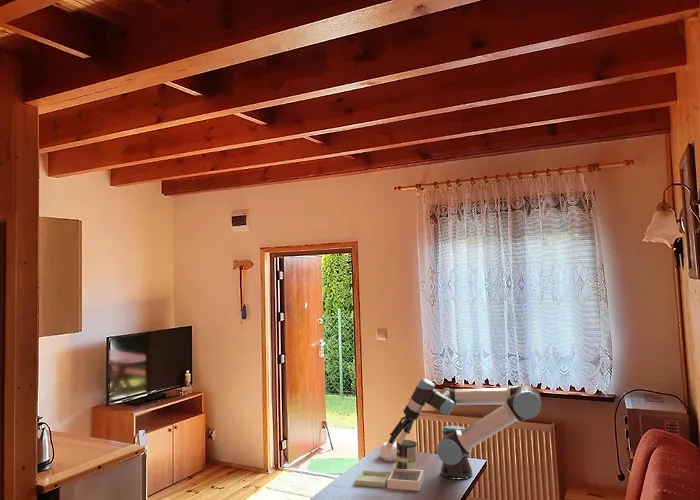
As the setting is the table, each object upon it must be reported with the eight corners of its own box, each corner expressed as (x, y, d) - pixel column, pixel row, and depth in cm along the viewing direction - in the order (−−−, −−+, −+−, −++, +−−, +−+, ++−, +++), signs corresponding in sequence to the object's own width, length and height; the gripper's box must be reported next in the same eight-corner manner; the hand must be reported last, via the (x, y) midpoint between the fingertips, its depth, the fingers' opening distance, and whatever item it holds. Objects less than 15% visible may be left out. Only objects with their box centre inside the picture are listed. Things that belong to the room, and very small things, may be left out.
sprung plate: (420, 475, 256) (420, 473, 256) (416, 485, 244) (416, 483, 244) (395, 473, 259) (395, 471, 259) (390, 483, 247) (390, 481, 247)
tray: (390, 476, 261) (390, 471, 261) (384, 487, 247) (384, 482, 247) (362, 475, 264) (362, 469, 264) (355, 485, 251) (355, 480, 251)
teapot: (407, 464, 278) (406, 444, 279) (384, 466, 276) (384, 446, 276) (398, 452, 298) (397, 433, 298) (376, 454, 296) (375, 435, 296)
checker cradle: (423, 478, 257) (423, 470, 257) (419, 490, 242) (419, 481, 242) (393, 476, 261) (393, 468, 261) (387, 488, 246) (387, 479, 246)
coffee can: (396, 474, 262) (397, 444, 263) (395, 467, 272) (395, 439, 273) (417, 474, 261) (417, 445, 262) (415, 468, 271) (415, 440, 273)
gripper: (416, 401, 268) (397, 436, 271) (397, 407, 247) (376, 445, 249) (428, 409, 265) (409, 445, 267) (410, 417, 243) (389, 455, 245)
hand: (393, 445), depth 258 cm, fingers open, 13 cm apart
